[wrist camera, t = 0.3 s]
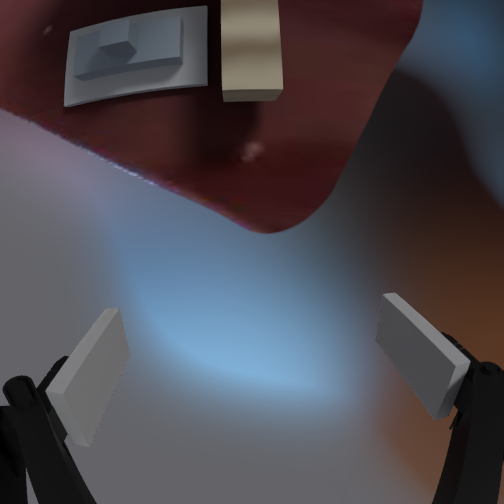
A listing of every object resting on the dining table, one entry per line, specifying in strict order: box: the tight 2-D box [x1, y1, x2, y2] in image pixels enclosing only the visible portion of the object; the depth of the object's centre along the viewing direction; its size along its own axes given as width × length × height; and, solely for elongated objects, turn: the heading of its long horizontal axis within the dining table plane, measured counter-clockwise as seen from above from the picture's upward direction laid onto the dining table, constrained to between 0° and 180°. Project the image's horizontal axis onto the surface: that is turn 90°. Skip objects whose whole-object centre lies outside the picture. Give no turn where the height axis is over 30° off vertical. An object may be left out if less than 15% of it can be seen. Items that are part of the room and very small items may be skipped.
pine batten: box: [221, 0, 283, 102], centre depth 28 cm, size 22×6×6 cm, turn 2°
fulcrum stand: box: [64, 6, 208, 107], centre depth 30 cm, size 12×20×8 cm, turn 92°
